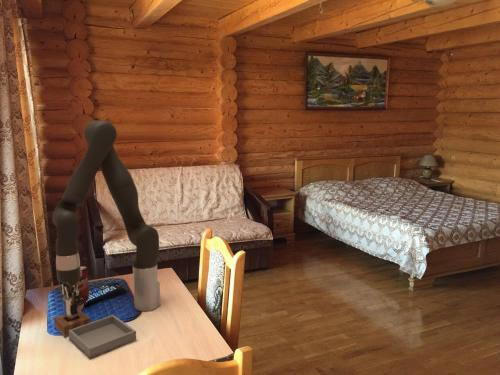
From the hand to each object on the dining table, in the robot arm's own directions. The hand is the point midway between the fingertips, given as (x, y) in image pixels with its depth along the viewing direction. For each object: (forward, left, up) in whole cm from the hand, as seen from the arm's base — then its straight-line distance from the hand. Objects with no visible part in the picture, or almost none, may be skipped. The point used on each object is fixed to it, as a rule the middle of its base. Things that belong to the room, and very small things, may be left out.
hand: (71, 311), depth 149 cm
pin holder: (0, 0, -6) cm, 6 cm away
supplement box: (-8, -14, -6) cm, 17 cm away
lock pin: (0, 0, -6) cm, 6 cm away
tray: (-4, +15, -6) cm, 17 cm away
